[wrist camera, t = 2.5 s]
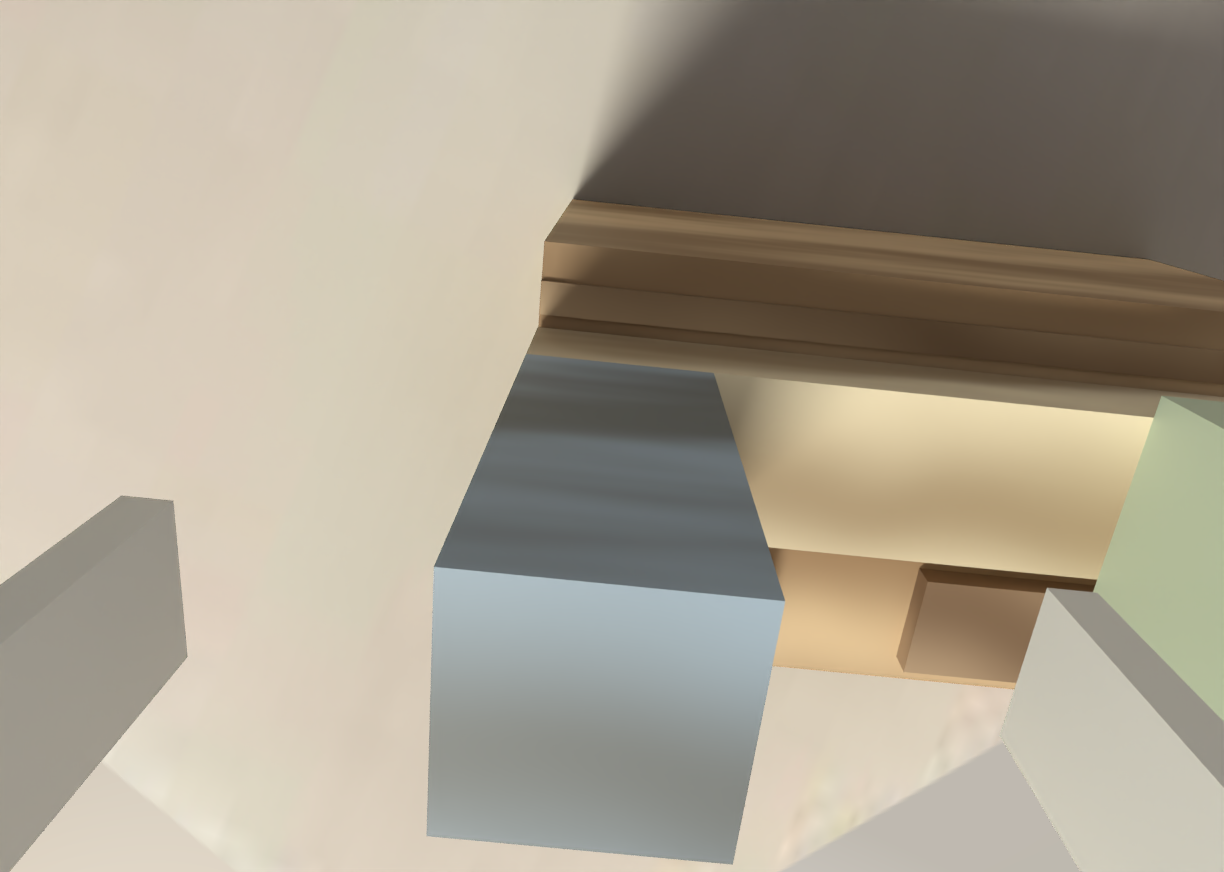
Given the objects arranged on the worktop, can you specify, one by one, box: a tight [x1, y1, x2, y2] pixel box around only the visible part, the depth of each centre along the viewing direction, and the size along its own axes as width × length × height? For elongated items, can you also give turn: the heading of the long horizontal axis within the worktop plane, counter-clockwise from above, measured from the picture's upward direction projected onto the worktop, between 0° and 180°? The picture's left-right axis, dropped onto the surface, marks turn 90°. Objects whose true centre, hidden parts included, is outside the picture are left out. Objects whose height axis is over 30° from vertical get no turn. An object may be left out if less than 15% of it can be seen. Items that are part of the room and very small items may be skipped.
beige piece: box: [427, 327, 1224, 864], centre depth 16 cm, size 4×20×11 cm, turn 84°
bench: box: [539, 199, 1224, 689], centre depth 26 cm, size 11×20×11 cm, turn 84°
